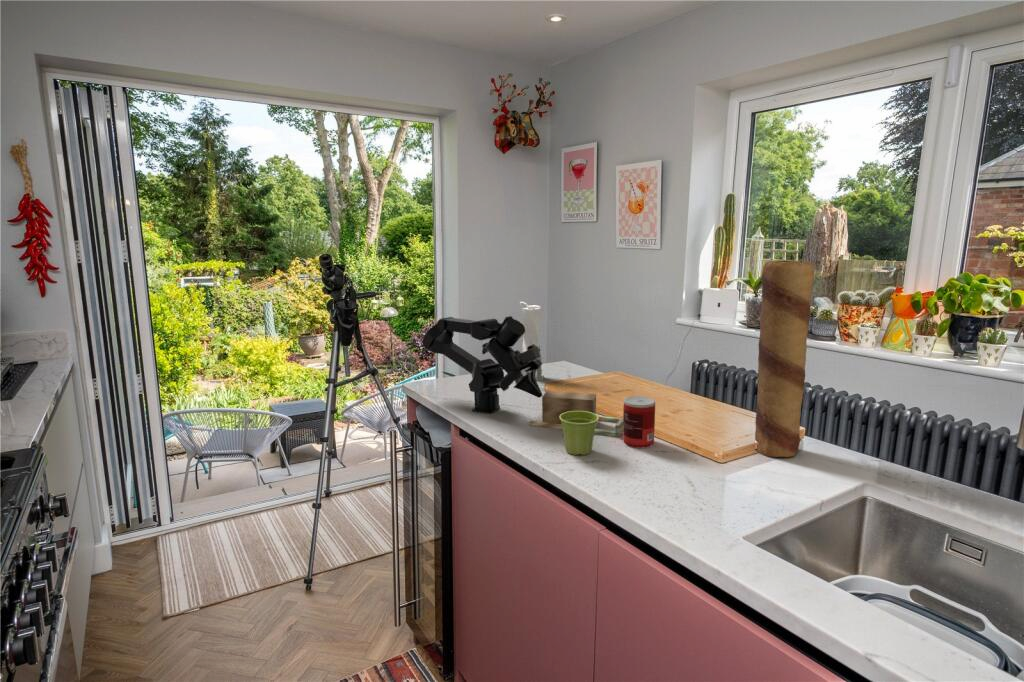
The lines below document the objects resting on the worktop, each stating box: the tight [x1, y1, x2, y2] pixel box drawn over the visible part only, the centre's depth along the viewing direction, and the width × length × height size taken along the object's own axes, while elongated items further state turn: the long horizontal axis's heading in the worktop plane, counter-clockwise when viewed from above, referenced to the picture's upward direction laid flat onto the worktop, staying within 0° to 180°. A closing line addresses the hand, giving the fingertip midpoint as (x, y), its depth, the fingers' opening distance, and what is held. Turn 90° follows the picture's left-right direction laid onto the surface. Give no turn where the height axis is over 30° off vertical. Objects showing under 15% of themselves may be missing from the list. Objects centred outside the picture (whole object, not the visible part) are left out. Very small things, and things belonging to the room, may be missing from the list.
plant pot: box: [559, 411, 600, 456], centre depth 138 cm, size 9×9×9 cm
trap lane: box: [529, 415, 623, 438], centre depth 158 cm, size 25×22×3 cm
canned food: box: [622, 395, 656, 449], centre depth 142 cm, size 8×8×11 cm
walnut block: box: [541, 390, 597, 424], centre depth 159 cm, size 14×6×8 cm, turn 74°
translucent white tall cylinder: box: [519, 301, 545, 382], centre depth 206 cm, size 8×8×28 cm
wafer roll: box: [754, 259, 815, 459], centre depth 133 cm, size 10×11×45 cm
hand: (541, 396), depth 161 cm, fingers closed
